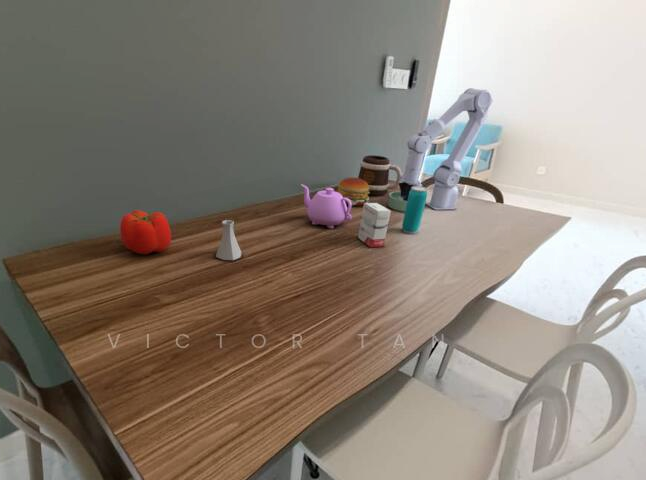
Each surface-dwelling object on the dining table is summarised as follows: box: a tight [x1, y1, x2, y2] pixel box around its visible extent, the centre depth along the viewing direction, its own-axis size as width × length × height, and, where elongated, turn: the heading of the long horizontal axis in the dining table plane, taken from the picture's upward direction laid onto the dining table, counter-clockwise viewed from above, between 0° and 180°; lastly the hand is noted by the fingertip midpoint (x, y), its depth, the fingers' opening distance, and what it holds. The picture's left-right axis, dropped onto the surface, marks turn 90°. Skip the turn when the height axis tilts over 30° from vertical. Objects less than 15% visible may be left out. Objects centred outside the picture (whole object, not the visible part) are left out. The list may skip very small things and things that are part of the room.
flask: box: [215, 219, 242, 261], centre depth 109 cm, size 7×7×10 cm
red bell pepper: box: [119, 210, 172, 256], centre depth 109 cm, size 14×13×10 cm
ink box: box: [358, 202, 392, 248], centre depth 123 cm, size 8×5×12 cm, turn 20°
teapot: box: [300, 183, 353, 229], centre depth 137 cm, size 20×14×12 cm
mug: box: [357, 155, 403, 197], centre depth 174 cm, size 20×15×15 cm
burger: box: [337, 177, 370, 206], centre depth 160 cm, size 13×14×10 cm
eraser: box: [398, 196, 406, 201], centre depth 160 cm, size 6×4×4 cm, turn 103°
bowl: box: [387, 191, 407, 213], centre depth 160 cm, size 14×14×4 cm
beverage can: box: [401, 186, 428, 235], centre depth 133 cm, size 6×6×15 cm
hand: (405, 202), depth 160 cm, fingers closed on eraser, 3 cm apart
